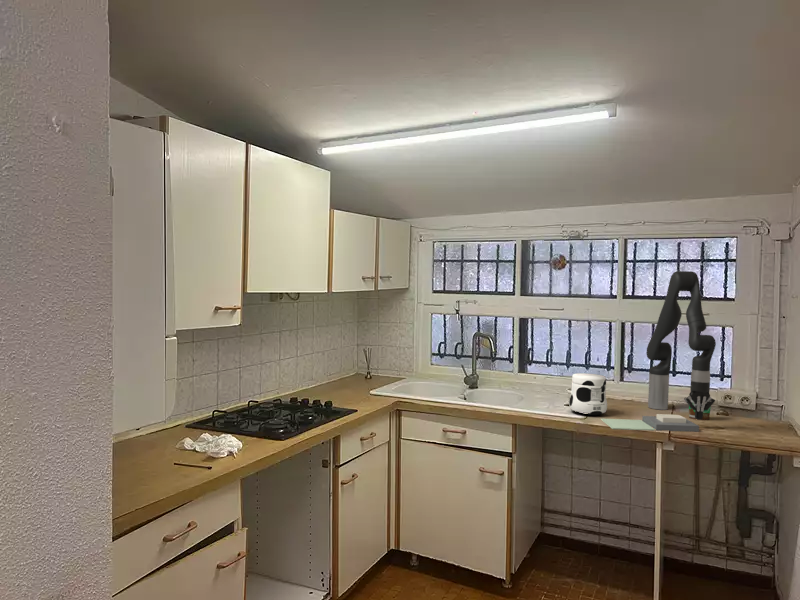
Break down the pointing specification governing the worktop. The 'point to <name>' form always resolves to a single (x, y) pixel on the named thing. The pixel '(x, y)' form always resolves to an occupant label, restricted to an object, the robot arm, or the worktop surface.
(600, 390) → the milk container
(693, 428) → the platform
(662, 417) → the cream flat block
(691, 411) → the food container
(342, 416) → the worktop surface
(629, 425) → the mat
